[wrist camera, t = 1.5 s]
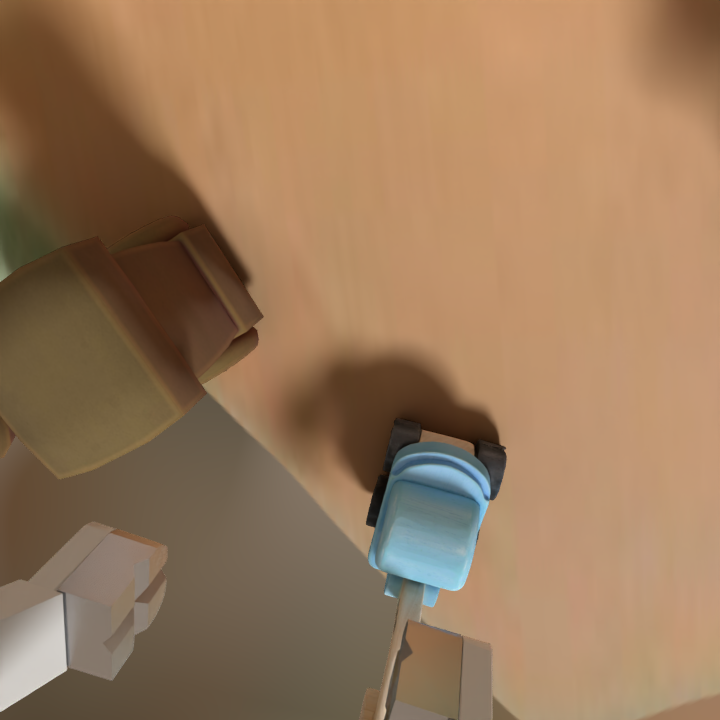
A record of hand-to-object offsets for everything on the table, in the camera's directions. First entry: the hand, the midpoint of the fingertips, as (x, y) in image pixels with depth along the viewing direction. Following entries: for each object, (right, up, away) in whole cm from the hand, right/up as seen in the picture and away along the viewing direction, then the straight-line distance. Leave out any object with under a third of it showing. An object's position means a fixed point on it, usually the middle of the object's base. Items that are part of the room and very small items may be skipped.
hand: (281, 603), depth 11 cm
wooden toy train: (-14, +8, +35) cm, 39 cm away
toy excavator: (+7, -7, +36) cm, 37 cm away
